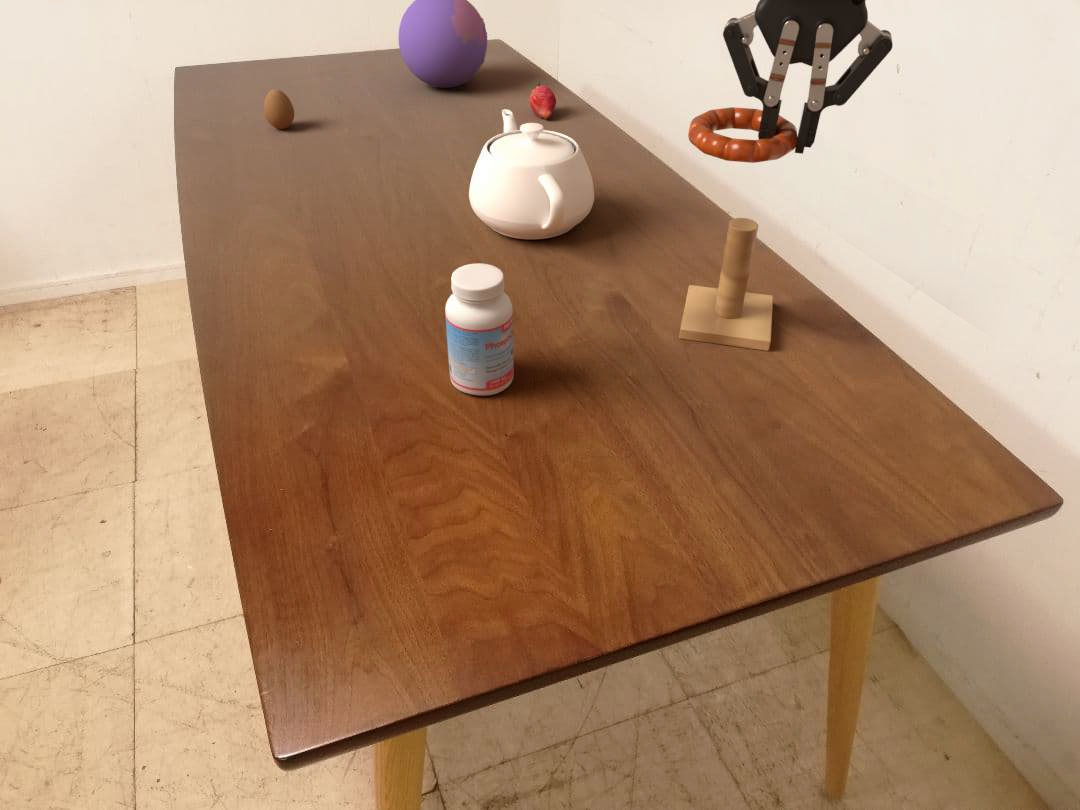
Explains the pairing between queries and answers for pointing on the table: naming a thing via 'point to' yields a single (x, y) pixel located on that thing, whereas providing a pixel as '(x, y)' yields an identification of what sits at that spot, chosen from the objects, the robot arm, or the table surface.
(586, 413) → the table surface
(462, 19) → the decorative ball
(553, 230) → the teapot
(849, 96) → the robot arm
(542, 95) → the fruit
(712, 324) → the post
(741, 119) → the ring
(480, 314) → the pill bottle
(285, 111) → the egg
